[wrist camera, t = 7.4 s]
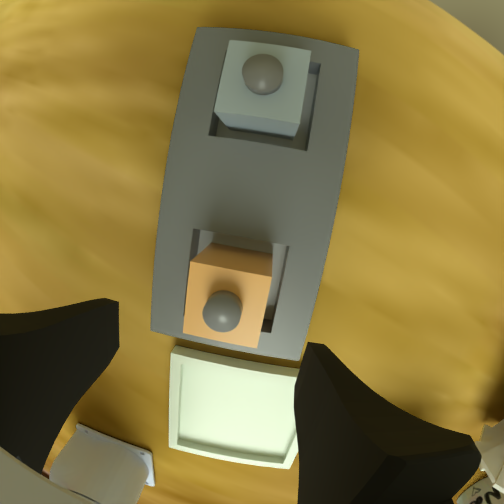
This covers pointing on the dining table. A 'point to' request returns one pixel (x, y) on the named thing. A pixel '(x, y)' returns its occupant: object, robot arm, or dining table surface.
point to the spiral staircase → (493, 453)
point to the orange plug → (228, 294)
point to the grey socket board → (254, 188)
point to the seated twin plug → (262, 88)
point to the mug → (481, 494)
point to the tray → (232, 408)
